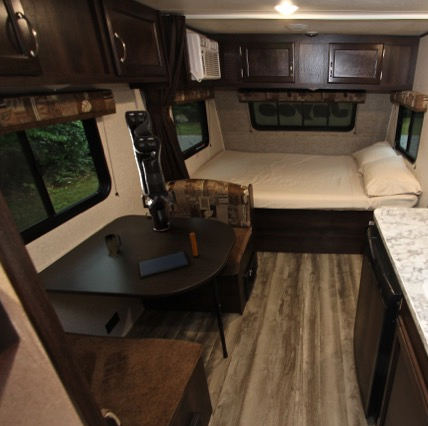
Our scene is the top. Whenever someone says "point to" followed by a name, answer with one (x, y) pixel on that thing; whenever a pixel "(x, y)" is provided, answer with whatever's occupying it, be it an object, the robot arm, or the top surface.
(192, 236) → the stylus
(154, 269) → the tablet
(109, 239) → the mug
